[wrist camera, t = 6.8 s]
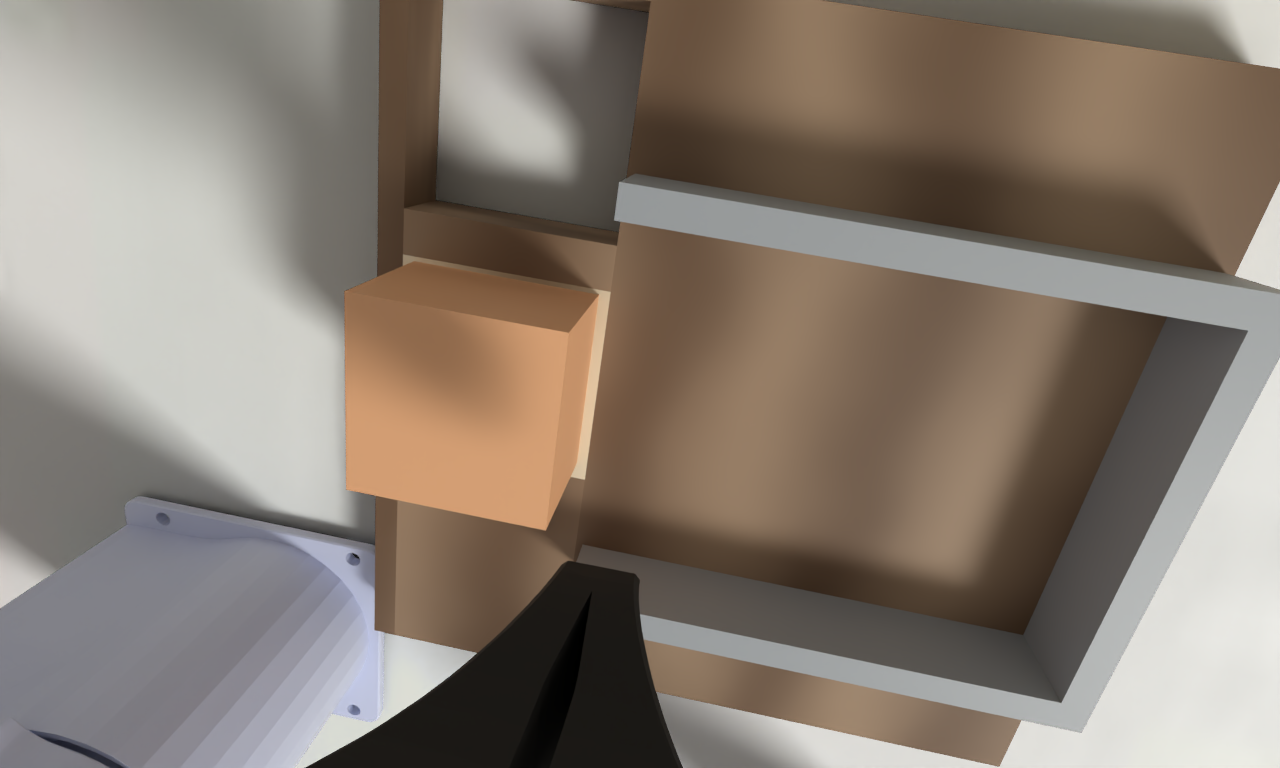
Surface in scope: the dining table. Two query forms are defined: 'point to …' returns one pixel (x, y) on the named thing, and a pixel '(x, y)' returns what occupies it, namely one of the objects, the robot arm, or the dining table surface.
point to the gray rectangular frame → (1108, 519)
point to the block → (466, 390)
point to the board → (833, 323)
